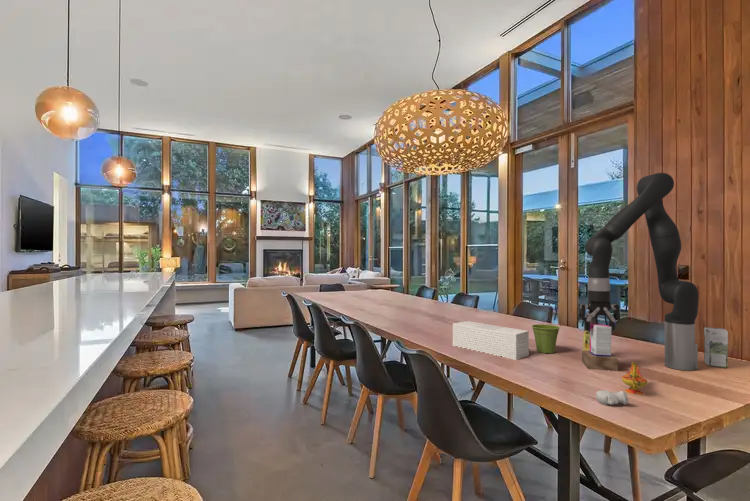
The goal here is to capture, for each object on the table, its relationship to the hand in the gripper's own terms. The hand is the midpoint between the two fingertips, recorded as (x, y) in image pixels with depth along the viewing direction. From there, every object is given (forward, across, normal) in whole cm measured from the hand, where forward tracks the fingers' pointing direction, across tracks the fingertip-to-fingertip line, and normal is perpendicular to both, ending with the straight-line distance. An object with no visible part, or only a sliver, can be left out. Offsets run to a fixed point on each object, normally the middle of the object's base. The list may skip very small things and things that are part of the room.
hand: (599, 331), depth 151 cm
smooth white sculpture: (+14, +15, +39) cm, 44 cm away
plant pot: (+14, +13, -21) cm, 28 cm away
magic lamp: (+14, +2, +27) cm, 30 cm away
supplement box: (+9, 0, 0) cm, 9 cm away
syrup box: (+14, -46, -5) cm, 48 cm away
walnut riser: (+14, 0, 0) cm, 14 cm away
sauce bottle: (+14, -3, -13) cm, 19 cm away
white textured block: (+14, +38, -21) cm, 45 cm away
